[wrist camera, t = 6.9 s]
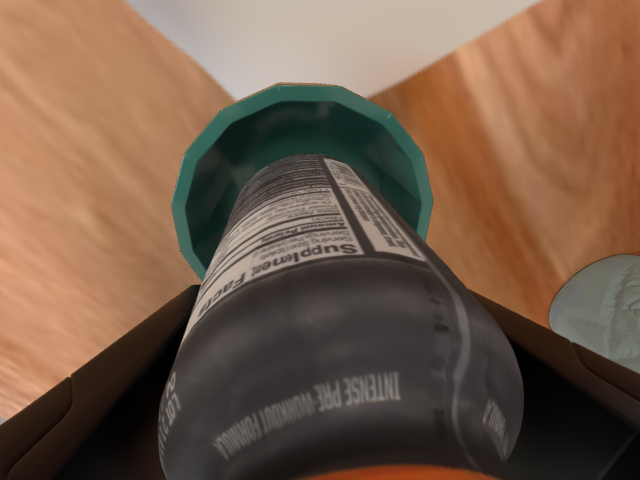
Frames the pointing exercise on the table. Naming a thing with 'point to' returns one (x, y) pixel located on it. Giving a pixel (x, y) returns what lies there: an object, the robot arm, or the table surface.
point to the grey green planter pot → (603, 309)
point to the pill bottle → (335, 347)
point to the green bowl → (289, 139)
